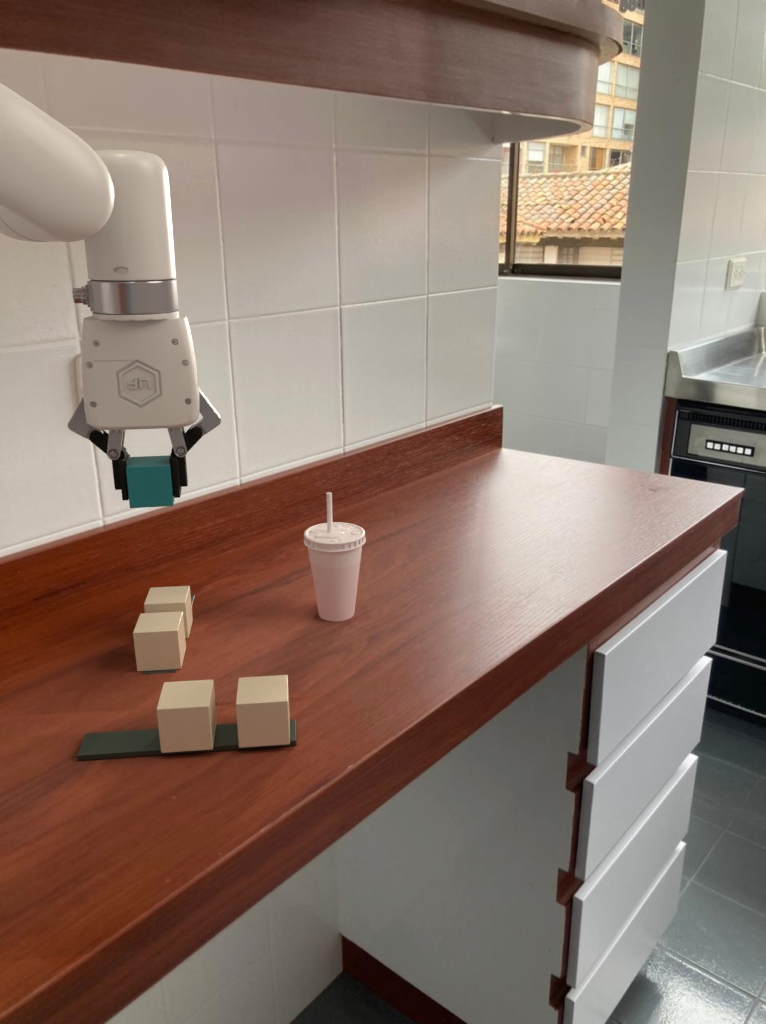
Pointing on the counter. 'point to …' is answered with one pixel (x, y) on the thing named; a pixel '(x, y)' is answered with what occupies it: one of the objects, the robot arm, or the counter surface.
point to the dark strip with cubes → (204, 722)
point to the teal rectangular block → (149, 482)
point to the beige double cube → (163, 629)
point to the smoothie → (335, 565)
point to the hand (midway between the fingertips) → (152, 493)
